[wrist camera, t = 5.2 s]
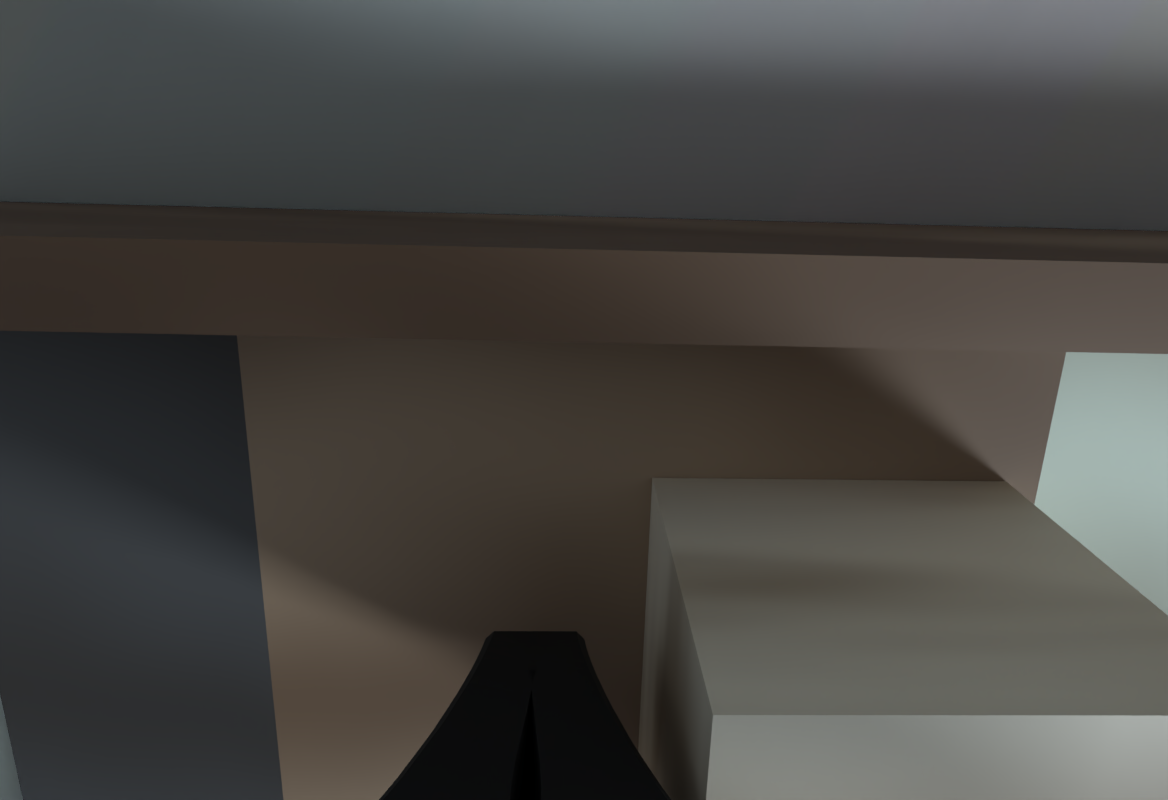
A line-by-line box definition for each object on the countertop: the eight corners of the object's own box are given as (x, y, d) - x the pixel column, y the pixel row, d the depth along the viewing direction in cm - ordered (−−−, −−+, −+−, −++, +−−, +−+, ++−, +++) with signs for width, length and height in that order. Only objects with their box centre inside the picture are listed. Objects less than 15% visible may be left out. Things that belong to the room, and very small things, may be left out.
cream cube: (950, 770, 14) (1155, 1114, 9) (636, 770, 14) (679, 1121, 9) (1006, 481, 12) (1288, 715, 8) (652, 477, 12) (713, 715, 7)
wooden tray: (1282, 1042, 17) (1423, 1223, 15) (117, 1052, 17) (26, 1247, 14) (1596, 242, 12) (1903, 280, 10) (-52, 200, 12) (-249, 229, 9)
